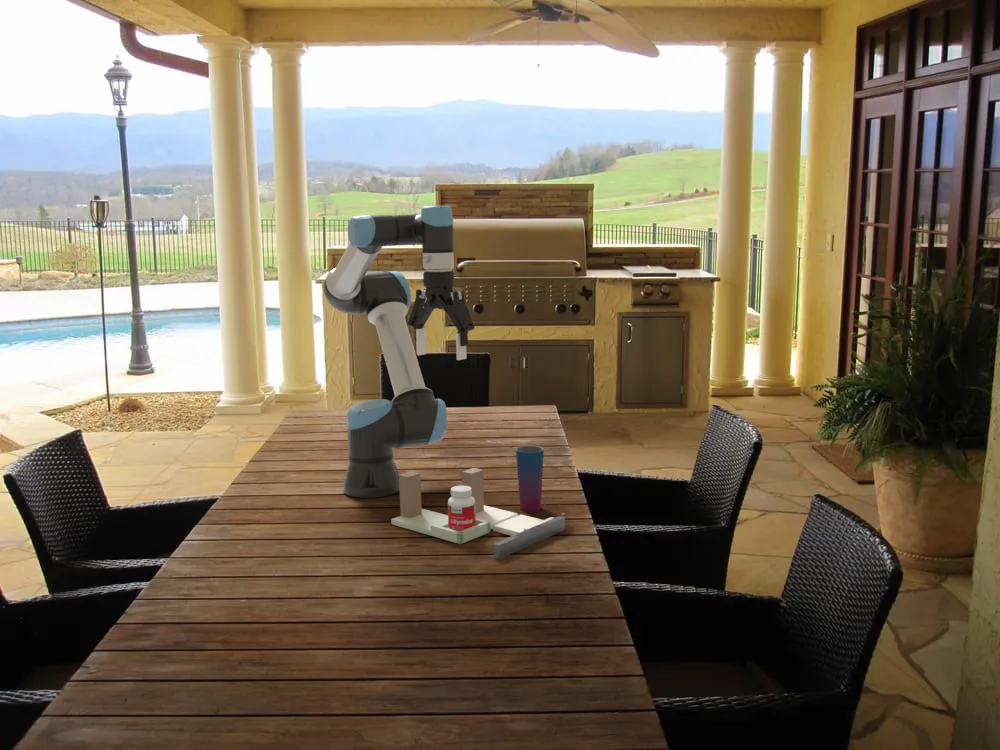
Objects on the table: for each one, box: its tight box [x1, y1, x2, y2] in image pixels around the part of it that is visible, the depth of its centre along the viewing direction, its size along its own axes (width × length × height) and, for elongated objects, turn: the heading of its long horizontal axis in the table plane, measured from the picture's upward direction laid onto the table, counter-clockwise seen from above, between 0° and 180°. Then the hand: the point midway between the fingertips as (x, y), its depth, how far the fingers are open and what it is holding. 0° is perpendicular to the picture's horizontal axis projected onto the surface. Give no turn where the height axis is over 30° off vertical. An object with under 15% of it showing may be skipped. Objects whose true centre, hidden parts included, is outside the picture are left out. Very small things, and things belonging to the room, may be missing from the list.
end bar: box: [492, 515, 566, 560], centre depth 207 cm, size 2×23×3 cm, turn 140°
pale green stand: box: [390, 470, 491, 545], centre depth 217 cm, size 22×10×11 cm, turn 49°
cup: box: [515, 444, 545, 512], centre depth 230 cm, size 7×7×15 cm
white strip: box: [492, 514, 555, 537], centre depth 215 cm, size 10×10×2 cm
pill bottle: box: [447, 485, 476, 531], centre depth 212 cm, size 6×6×11 cm
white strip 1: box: [461, 467, 519, 531], centre depth 222 cm, size 11×10×11 cm
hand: (441, 357), depth 233 cm, fingers open, 13 cm apart
